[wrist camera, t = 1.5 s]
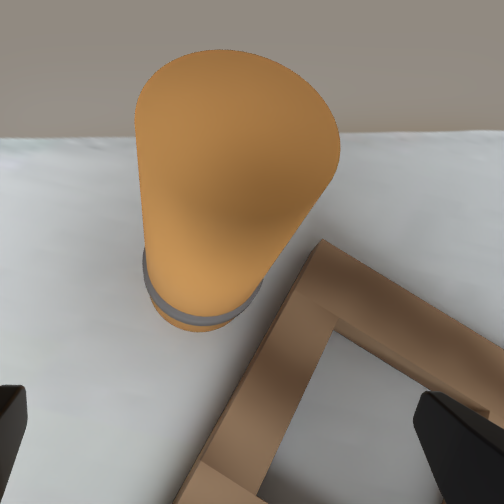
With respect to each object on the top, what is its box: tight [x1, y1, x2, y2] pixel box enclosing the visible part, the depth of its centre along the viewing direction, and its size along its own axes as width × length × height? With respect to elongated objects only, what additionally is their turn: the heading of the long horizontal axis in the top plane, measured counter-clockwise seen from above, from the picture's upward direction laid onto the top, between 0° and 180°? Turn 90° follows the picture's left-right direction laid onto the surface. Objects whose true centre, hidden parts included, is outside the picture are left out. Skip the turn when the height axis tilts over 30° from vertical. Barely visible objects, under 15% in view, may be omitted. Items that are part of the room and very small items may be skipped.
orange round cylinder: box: [135, 50, 340, 332], centre depth 18 cm, size 6×6×14 cm
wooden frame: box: [172, 239, 504, 504], centre depth 20 cm, size 22×16×2 cm
